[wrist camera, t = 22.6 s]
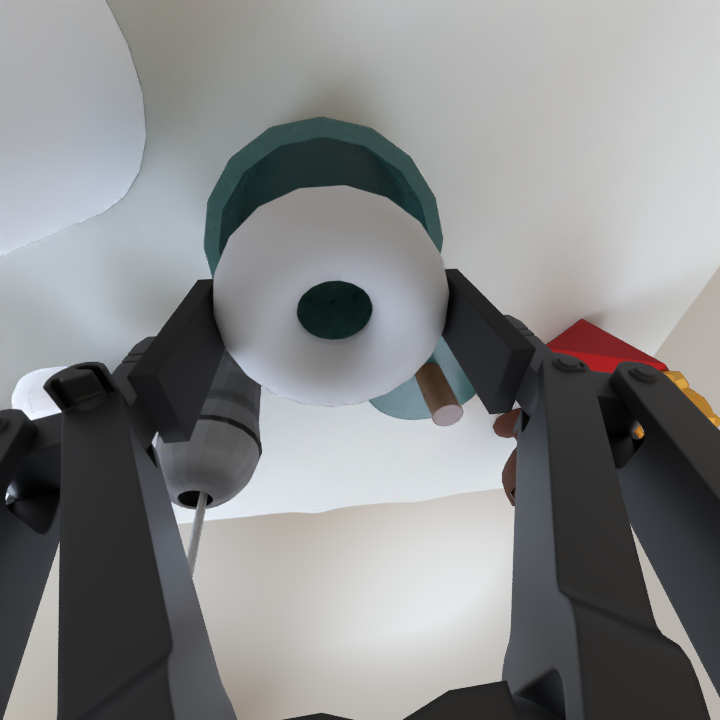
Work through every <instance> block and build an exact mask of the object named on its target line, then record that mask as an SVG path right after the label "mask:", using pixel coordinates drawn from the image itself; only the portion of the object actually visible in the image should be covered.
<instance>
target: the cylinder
mask: <svg viewBox="0 0 720 720" xmlns="http://www.w3.org/2000/svg"><path fill="white" fill-rule="evenodd" d="M145 141H146V127H145V114H144V102H143V94H142V90H141V87H140V83H139V80H138V77H137V73H136V70H135V67H134V63H133V60H132V57H131V53H130V50H129V47H128V44H127V42H126V40H125V38H124V36H123V34H122V32H121V30H120V28H119V26H118V24H117V22H116V20H115V18H114V16H113V14H112V12H111V10H110V8H109V6H108V4H107V2H106V0H0V256H2V255H5V254H7V253H9V252H12V251H14V250H16V249H19V248H21V247H23V246H26V245H28V244H31V243H33V242H35V241H38V240H40V239H42V238H45V237H47V236H49V235H52V234H54V233H56V232H59V231H61V230H64V229H66V228H68V227H71V226H73V225H75V224H78V223H80V222H82V221H85V220H87V219H90V218H92V217H94V216H97V215H99V214H101V213H103V212H105V211H106V210H107V209H109V208H110V207H111V206H113V205H114V204H115V203H116V202H118V201H119V200H120V199H122V198H123V197H124V196H125V195H126V193H127V192H128V190H129V188H130V187H131V185H132V183H133V181H134V180H135V178H136V176H137V175H138V173H139V171H140V167H141V162H142V157H143V151H144V146H145Z"/></svg>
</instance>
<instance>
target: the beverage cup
mask: <svg viewBox="0 0 720 720" xmlns="http://www.w3.org/2000/svg"><path fill="white" fill-rule="evenodd" d="M260 396H261V385H260V384H259V383H257V382H256V381H254V380H253V379H252V378H250V377H249V376H247V375H246V373H245V372H244V371H243V370H242V368H241V367H240V366H239V365H238V363H237V362H236V361H235V360H234V358H233V357H232V356H231V355H230V353H229V352H228V351H227V349H226V348H225V351H224V354H223V356H222V359H221V361H220V364H219V366H218V369H217V372H216V374H215V377H214V379H213V382H212V384H211V387H210V390H209V392H208V395H207V397H206V400H205V402H204V405H203V408H202V410H201V413H200V415H199V418H198V420H197V423H196V426H195V428H194V431H193V433H192V436H191V438H190V441H187V442H176V443H165V444H164V442H163V441H162V439H161V437H160V435H159V433H158V435H157V442H156V446H155V449H156V451H157V454H158V458H159V461H160V465H161V469H162V472H163V476H164V479H165V483H166V486H167V490H168V494H169V497H170V501H171V502H173V503H175V504H177V505H179V506H181V507H184V508H188V509H195V510H196V514H195V519H194V524H193V529H192V534H191V538H190V543H189V548H188V553H187V562H188V565H189V569H190V572H191V576H192V577H193V572H194V566H195V561H196V556H197V550H198V545H199V540H200V535H201V530H202V524H203V519H204V514H205V509H208V508H212V507H216V506H219V505H221V504H223V503H225V502H227V501H229V500H231V499H232V498H233V497H235V496H236V495H237V494H238V493H239V492H240V491H241V490H242V489H243V488H244V487H245V486H246V485H247V484H248V482H249V481H250V479H251V477H252V475H253V473H254V470H255V468H256V466H257V464H258V461H259V459H260V456H261V454H262V446H261V442H260V431H259V412H260Z"/></svg>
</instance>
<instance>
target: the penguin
mask: <svg viewBox="0 0 720 720" xmlns="http://www.w3.org/2000/svg"><path fill="white" fill-rule="evenodd" d="M68 367H69V366H62V367H52V368H45V369H40V370H36V371H33V372H31V373H29V374H26V375H25V376H24V377H22V378H21V379H20V380H19V381H18V383H17V385H16V388H15V390H14V392H13V394H12V396H11V404H12V409H19V410H22V411H23V412H24V413H25V414H26V415H27V416H28V417H29V419H30V420H34V419H38V418H42V417H46V416H50V415H53V414H57V413H61V412H62V411H61V410H60V409H59V408H58V406H57V405H56V404H55V402H54V401H53V400H52V399H51V397H50V396H49V395H48V394H47V392H46V391H45V390H44V389H43V386H44V384H45V382H46V381H47V380H48V379H49V378H50V377H51V376H52V375H54V374H56V373H57V372H59V371H61V370H63V369H65V368H68ZM157 435H158V432H157V433H156V435H155V437H154V439H153V441H152V444H153V446H154V447H155V446H156V442H157Z"/></svg>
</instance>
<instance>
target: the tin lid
mask: <svg viewBox="0 0 720 720" xmlns="http://www.w3.org/2000/svg"><path fill="white" fill-rule="evenodd" d="M475 394H476V391H475V389H474V388H473V386H472V385H471V383H470V381H469V380H468V378H467V376H466V375H465V373H464V371H463V370H462V368H461V366H460V365H459V363H458V362H457V360H456V358H455V357H454V355H453V353H452V352H451V350H450V348H449V347H448V345H447V344H446V342H445V340H444V339H443V337H442V335H441V336H440V338H439V340H438V342H437V344H436V346H435V348H434V350H433V352H432V354H431V356H430V357H429V359H428V360H427V361H426V362H425V363H424V364H423V365H422V366H421V367H420V368H419V370H418V371H417V372H416V373H415V374H414V375H413V376H412V377H411V378H410V379H408V380H407V381H405V382H404V383H402V384H401V385H399V386H398V387H396V388H395V389H393V390H392V391H390V392H388V393H387V394H384V395H381V396H379V397H376V398H373V399H370V400H369V401H370V403H371V404H372V405H373V406H374V407H375V408H377V409H378V410H379V411H381V412H383V413H385V414H387V415H389V416H392V417H396V418H400V419H408V420H419V419H427V418H432V420H433V422H434V423H435V424H437V425H439V426H449V425H452V424H454V423H456V422H457V421H459V420H460V418H461V417H462V415H463V409H462V407H461V405H462V404H464V403H465V402H467V401H468V400H469V399H471V398H472V397H473V396H474V395H475Z"/></svg>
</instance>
